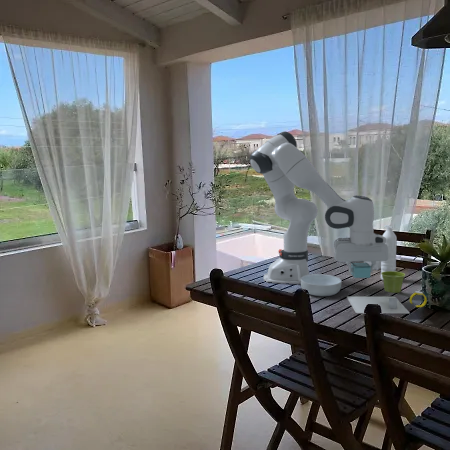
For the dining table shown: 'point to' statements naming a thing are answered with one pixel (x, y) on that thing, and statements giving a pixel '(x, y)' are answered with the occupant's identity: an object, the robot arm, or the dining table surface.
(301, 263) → the robot arm
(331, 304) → the dining table surface
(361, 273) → the teal square box
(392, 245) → the water bottle
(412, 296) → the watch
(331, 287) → the cereal bowl
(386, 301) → the post base
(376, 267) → the medicine bottle
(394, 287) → the plant pot
